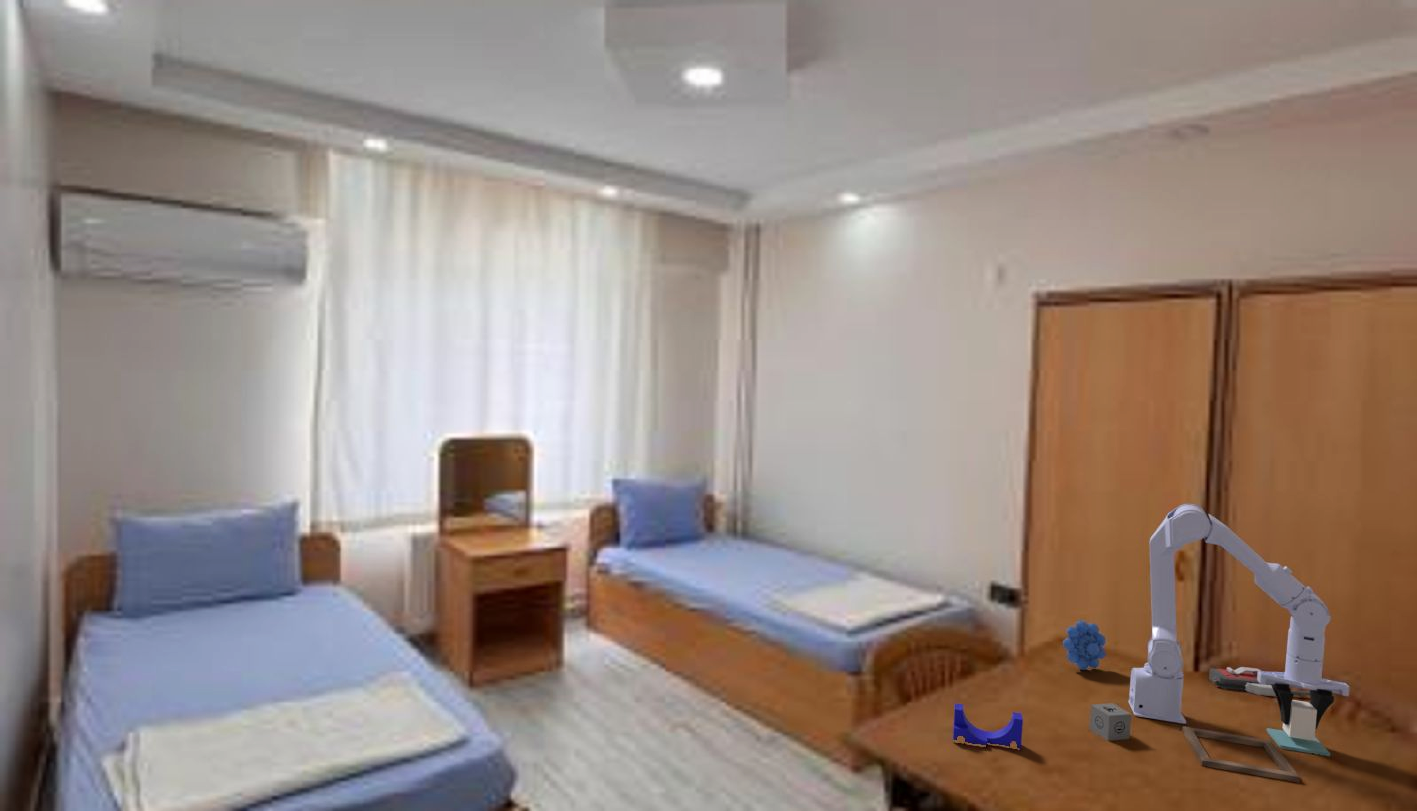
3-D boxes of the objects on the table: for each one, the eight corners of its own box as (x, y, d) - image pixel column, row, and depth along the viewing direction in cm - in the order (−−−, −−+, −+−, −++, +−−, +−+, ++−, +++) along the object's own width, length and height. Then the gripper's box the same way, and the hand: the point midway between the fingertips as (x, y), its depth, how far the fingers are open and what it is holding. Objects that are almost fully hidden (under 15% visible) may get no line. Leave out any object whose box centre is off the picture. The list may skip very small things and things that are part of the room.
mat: (1280, 748, 155) (1280, 745, 155) (1266, 730, 162) (1266, 727, 162) (1330, 756, 152) (1330, 753, 152) (1313, 738, 160) (1313, 735, 160)
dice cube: (1089, 729, 160) (1091, 704, 159) (1110, 727, 161) (1112, 703, 161) (1107, 741, 155) (1109, 715, 155) (1129, 739, 156) (1131, 713, 156)
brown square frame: (1201, 765, 146) (1202, 760, 146) (1182, 730, 160) (1182, 726, 160) (1299, 782, 142) (1299, 777, 141) (1270, 745, 156) (1270, 740, 156)
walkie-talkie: (1219, 693, 182) (1316, 702, 179) (1221, 674, 182) (1318, 682, 179) (1201, 678, 191) (1294, 686, 188) (1203, 660, 191) (1295, 668, 188)
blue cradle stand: (953, 743, 151) (955, 712, 151) (952, 733, 155) (954, 702, 155) (1021, 755, 148) (1023, 723, 147) (1019, 744, 152) (1021, 713, 152)
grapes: (1074, 678, 186) (1078, 627, 186) (1055, 667, 193) (1058, 617, 192) (1116, 675, 189) (1120, 625, 189) (1096, 664, 196) (1100, 616, 195)
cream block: (1289, 736, 156) (1292, 706, 156) (1282, 728, 160) (1285, 698, 159) (1314, 740, 155) (1316, 710, 154) (1306, 732, 158) (1308, 702, 158)
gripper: (1267, 657, 155) (1262, 726, 156) (1358, 669, 150) (1352, 740, 151) (1256, 645, 162) (1250, 711, 162) (1342, 656, 157) (1336, 725, 158)
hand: (1298, 724), depth 157 cm, fingers closed on cream block, 4 cm apart
